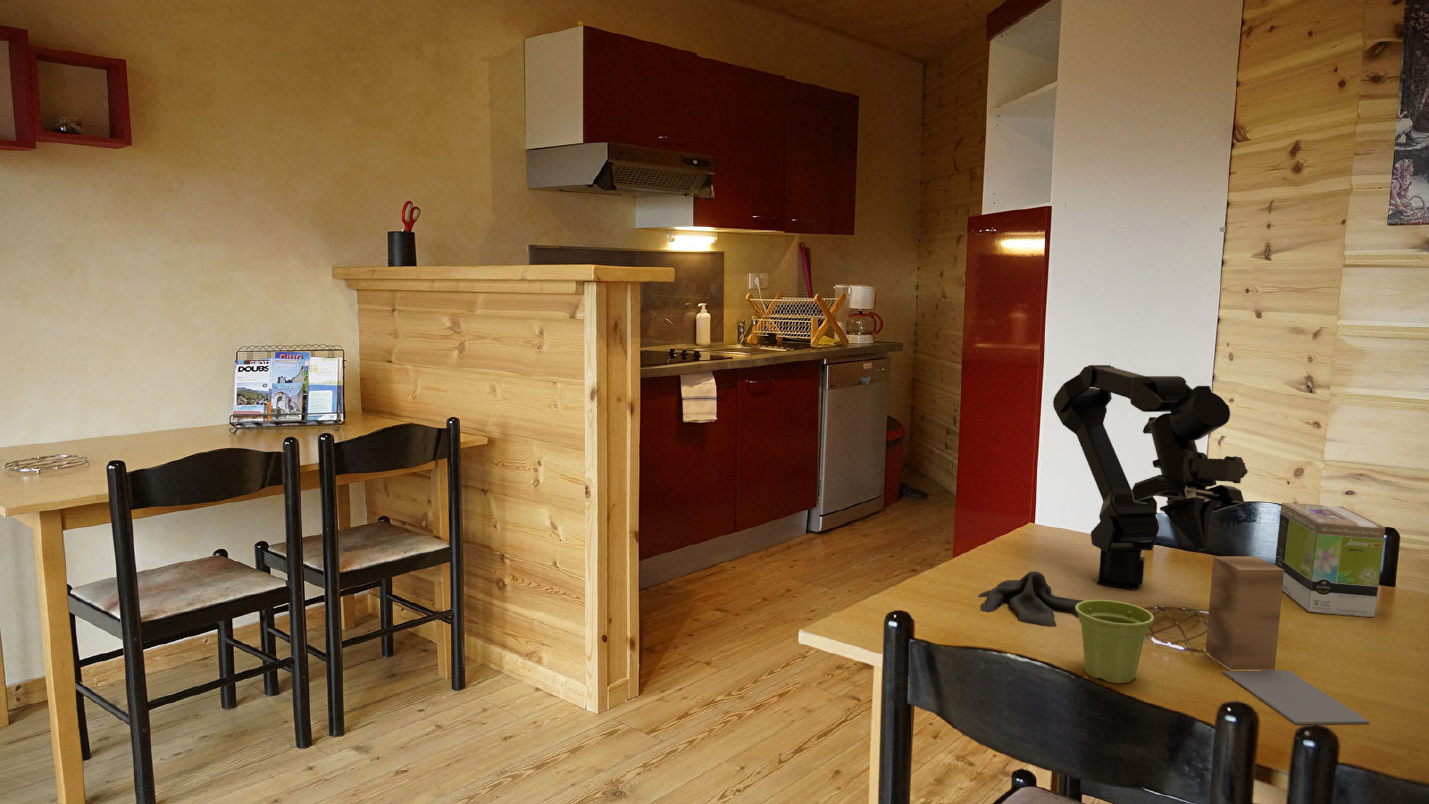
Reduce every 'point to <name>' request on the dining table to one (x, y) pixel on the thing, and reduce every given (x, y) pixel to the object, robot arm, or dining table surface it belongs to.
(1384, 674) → the dining table surface
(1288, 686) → the rubber mat
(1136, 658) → the plant pot
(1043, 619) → the cloth
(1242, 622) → the walnut block
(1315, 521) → the tea box
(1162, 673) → the dining table surface
